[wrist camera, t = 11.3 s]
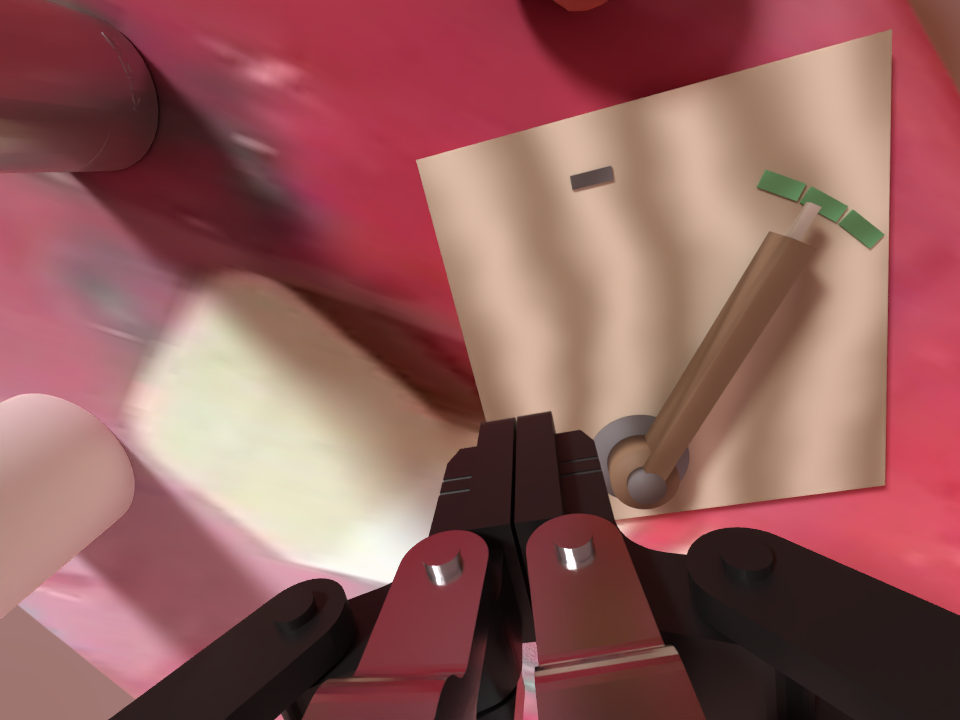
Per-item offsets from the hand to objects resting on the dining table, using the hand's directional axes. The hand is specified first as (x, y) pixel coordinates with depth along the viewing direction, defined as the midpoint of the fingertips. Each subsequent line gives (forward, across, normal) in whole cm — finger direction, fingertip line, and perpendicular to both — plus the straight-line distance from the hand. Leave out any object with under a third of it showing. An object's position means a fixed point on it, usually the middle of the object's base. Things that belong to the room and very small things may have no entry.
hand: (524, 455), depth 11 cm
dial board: (+25, -8, +6) cm, 27 cm away
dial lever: (+23, -10, +8) cm, 26 cm away
